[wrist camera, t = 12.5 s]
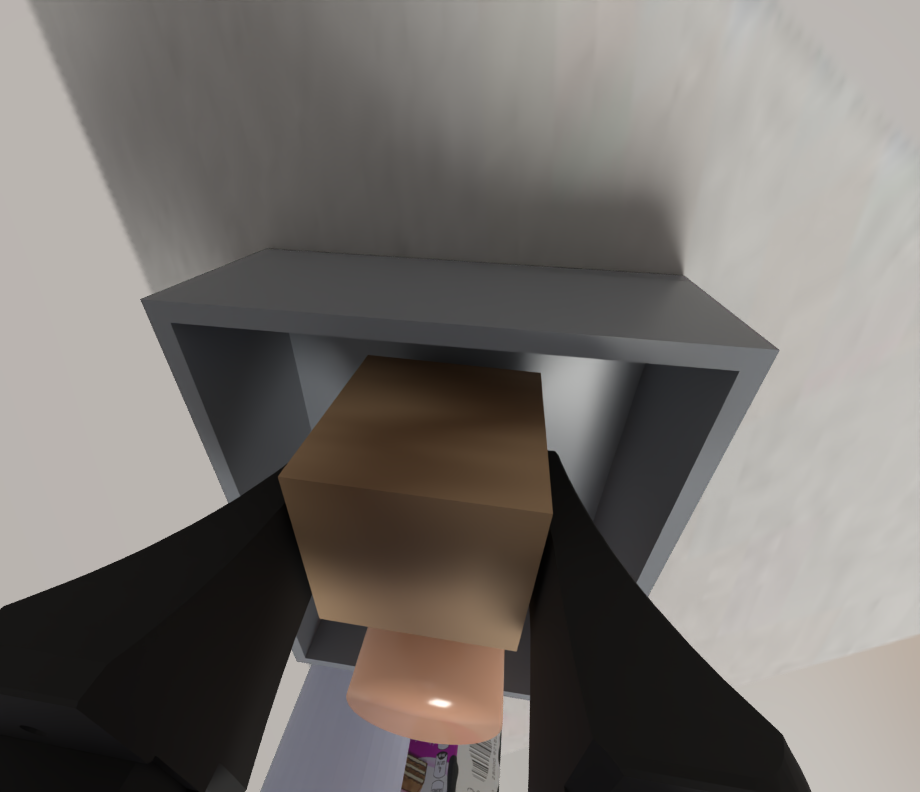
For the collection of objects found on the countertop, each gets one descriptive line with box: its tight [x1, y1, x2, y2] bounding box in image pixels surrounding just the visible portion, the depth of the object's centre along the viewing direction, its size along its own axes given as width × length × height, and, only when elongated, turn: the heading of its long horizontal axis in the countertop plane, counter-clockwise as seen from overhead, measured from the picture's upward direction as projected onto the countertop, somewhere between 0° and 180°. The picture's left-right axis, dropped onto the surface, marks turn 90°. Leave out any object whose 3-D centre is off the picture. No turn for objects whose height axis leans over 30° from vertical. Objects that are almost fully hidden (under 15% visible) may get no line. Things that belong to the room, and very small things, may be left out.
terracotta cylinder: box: [346, 627, 505, 745], centre depth 15 cm, size 5×5×7 cm
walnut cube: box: [278, 355, 553, 652], centre depth 10 cm, size 5×5×5 cm
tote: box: [140, 249, 779, 700], centre depth 14 cm, size 17×13×5 cm
